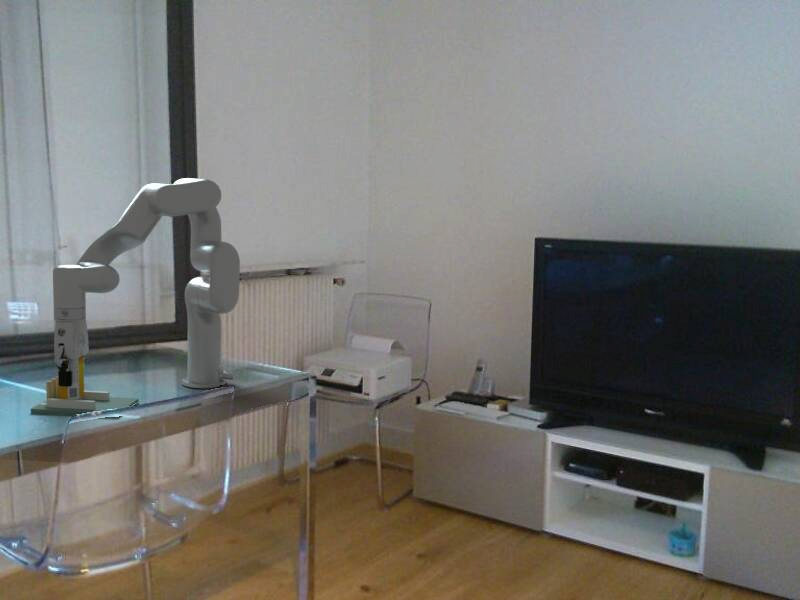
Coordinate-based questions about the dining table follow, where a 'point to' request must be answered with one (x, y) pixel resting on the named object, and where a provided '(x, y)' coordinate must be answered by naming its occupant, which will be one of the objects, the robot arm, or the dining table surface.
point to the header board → (78, 402)
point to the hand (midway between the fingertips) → (71, 382)
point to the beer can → (74, 380)
